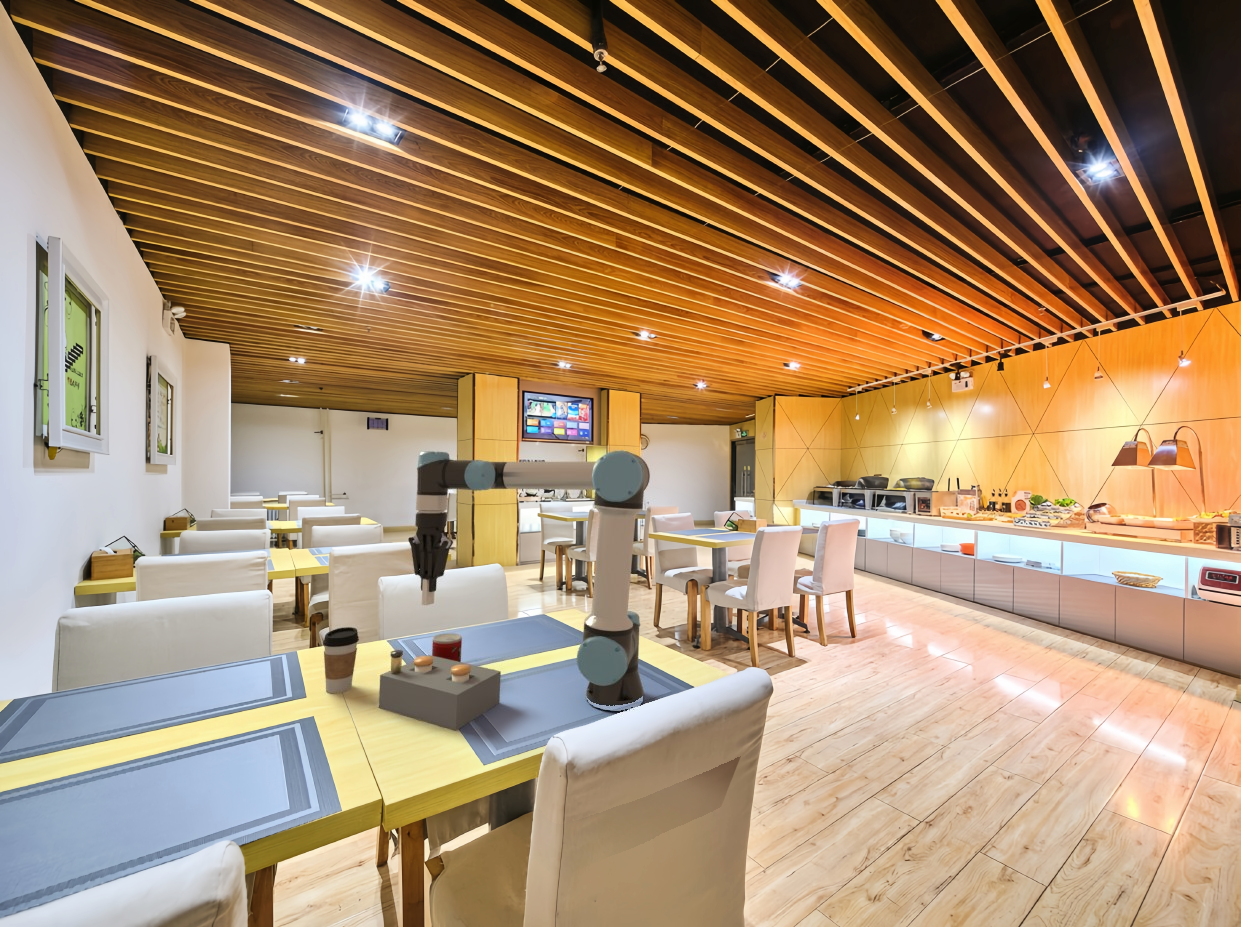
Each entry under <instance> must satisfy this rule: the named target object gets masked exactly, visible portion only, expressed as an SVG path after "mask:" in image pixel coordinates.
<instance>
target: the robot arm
mask: <svg viewBox="0 0 1241 927" xmlns="http://www.w3.org/2000/svg"><path fill="white" fill-rule="evenodd" d="M416 470H417V479H416V480H417V481H416V483H417V484H416V485H417V486H416V487H417V488H416V499H415V501H416V502H415V503H416V504H415V510H416V511H417V512H416V513H415V522H414V524H415V527H416V528H417V530H416V532H415V535H413V536H410V537H408V543H409V546H410V550H411V555H412V556H411V557H412V562H413V563H412V566H413V572H414V574H415V576H418V577H419V578H420V591H421V592H422V593H421V594H422V595H421V606H429V605H432V604H433V605H434V604H435V592H436V591H437V580H438V579H439V578H440V577H444V574H445V571H446V566H447V562H448V558H449V553H450V549H451V548H452V545H453V544H454V541H453V539H448V537H446V536H447V535H446V532H445V528H446V527H447V523H448V522H447V518H448V513H447V512H445V511H447V510H448V492H449V490H465V491H466V490H467V491H475V492H477V491H488V490H573V491H574V490H575V491H577V490H578V491H579V490H580V491H582V490H583V491H584V490H585V491H587V490H588V491H594V501H593V506H594V508H595V509H596V510H597V511H598V514H599V517H598V519H599V520H598V521H599V522H598V531H597V542H596V553H595V567H594V578H593V580H594V581H593V590H592V601H591V613H590V614H589V615H587V616H586V617H585V619H584V622H583V632H582V633H583V634H582V642H581V644H580V645H579V647H578V650H577V654H576V664H577V667H578V670H579V673H580V674H581V675H582V676H583V677H584V678H585V679H586V680H587V681H588V684H587V688H586V696H587V698H588V699H589V700H590V701H591V702H593V703H596V704H599V705H606V706H609V705H610V706H613V705H614V706H615V705H623V704H628V703H632V702H635V701H636V700H638V699H639V698H641V697H642V696H643V695H645V691H644V687H643V684H642V681H641V676H640V673H639V651H640V648H639V646H640V627H641V623H640V620H641V619H640V615H639V614H638V613H637V612H634V611H631V610H629V598H630V586H631V574H632V573H631V572H632V562H633V551H634V537H635V525H636V516H637V515H638V514H639V513H640V512H642V511H643V508H644V507H643V505H644V496H645V494H644V493H645V490H647V488H648V486H649V483H650V479H651V476H650V475H651V473H650V468H649V466H648V464H647V462H646V461H645V460H644V459H643V458H642V457H641V456H639V455H637V454H634V453H633V452H630V451H627V450H622V449H621V450H614V451H613V450H612V451H611V452H607V453H605V454H603V455H602V456H601V457H599V458H598V459H597V460H596V461H488V460H480V459H474V460H472V459H471V460H470V459H469V460H467V459H457V460H456V459H455V460H454V459H451V458H450V454H449V453H448V452H447V451H446V452H445V451H430V450H429V451H428V450H427V451H426V450H425V451H421V452H420V453H419V454H418V461H417V467H416ZM631 708H633V707H631ZM625 710H628V709H625ZM621 711H623V712H625V711H624V710H621ZM621 711H618V713H621Z"/></svg>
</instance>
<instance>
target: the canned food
mask: <svg viewBox="0 0 1241 927" xmlns="http://www.w3.org/2000/svg"><path fill="white" fill-rule="evenodd" d="M462 639H463V636H462V635H461V634H458V633H453V632H449V633H448V632H446V633H439V634H435V636H433V638H432V646H431V647H432V648H431V651H432V652H431V656H436V657H440V658H444V659H449V660H453V661H458V662H461V661H462V644H463V642H462V641H463V640H462Z"/></svg>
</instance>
